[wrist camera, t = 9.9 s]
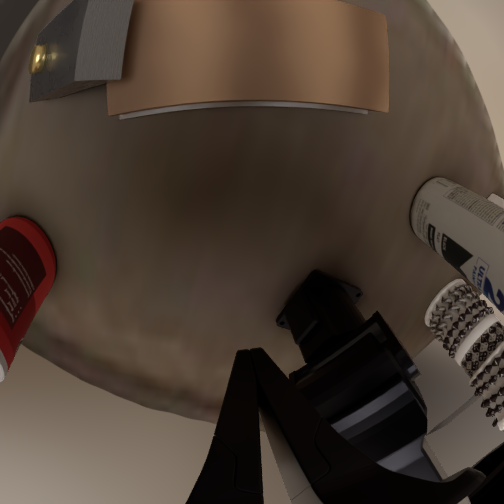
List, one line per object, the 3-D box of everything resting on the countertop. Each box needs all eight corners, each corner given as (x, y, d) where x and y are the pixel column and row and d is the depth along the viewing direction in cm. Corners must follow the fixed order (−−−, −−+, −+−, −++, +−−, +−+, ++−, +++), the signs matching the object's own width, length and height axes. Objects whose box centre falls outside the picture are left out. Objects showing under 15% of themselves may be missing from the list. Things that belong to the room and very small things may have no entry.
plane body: (362, 23, 13) (389, 13, 10) (363, 113, 17) (391, 117, 14) (121, 18, 10) (104, 1, 8) (122, 119, 14) (103, 122, 11)
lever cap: (135, -9, 7) (80, -18, 4) (120, 79, 9) (59, 82, 7) (68, 33, 10) (28, 35, 7) (60, 97, 12) (20, 104, 10)
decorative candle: (470, 293, 31) (557, 404, 10) (430, 335, 33) (506, 456, 12) (462, 264, 27) (575, 396, 5) (415, 314, 29) (513, 464, 8)
